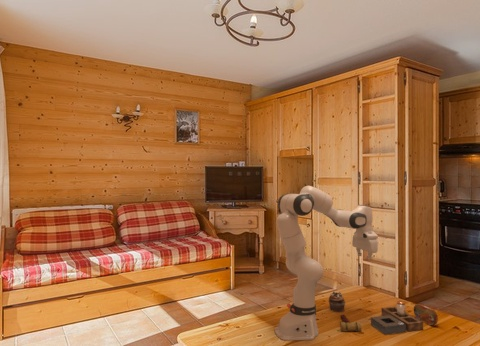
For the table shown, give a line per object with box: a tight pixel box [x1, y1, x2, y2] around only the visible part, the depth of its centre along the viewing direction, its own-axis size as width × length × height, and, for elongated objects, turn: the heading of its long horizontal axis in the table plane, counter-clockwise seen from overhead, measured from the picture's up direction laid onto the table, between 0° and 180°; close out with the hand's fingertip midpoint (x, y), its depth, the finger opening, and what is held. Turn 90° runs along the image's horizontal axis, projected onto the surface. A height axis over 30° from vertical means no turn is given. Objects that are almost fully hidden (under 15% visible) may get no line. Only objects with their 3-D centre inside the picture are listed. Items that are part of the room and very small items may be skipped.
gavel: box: [339, 313, 362, 333], centre depth 187 cm, size 21×5×10 cm
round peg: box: [396, 300, 406, 317], centre depth 188 cm, size 4×4×11 cm
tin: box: [413, 303, 439, 326], centre depth 188 cm, size 15×3×8 cm, turn 13°
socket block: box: [370, 315, 407, 335], centre depth 181 cm, size 12×12×4 cm
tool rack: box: [381, 306, 424, 333], centre depth 188 cm, size 9×22×4 cm, turn 13°
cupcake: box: [328, 291, 346, 313], centre depth 207 cm, size 10×10×10 cm
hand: (364, 257), depth 196 cm, fingers open, 8 cm apart
